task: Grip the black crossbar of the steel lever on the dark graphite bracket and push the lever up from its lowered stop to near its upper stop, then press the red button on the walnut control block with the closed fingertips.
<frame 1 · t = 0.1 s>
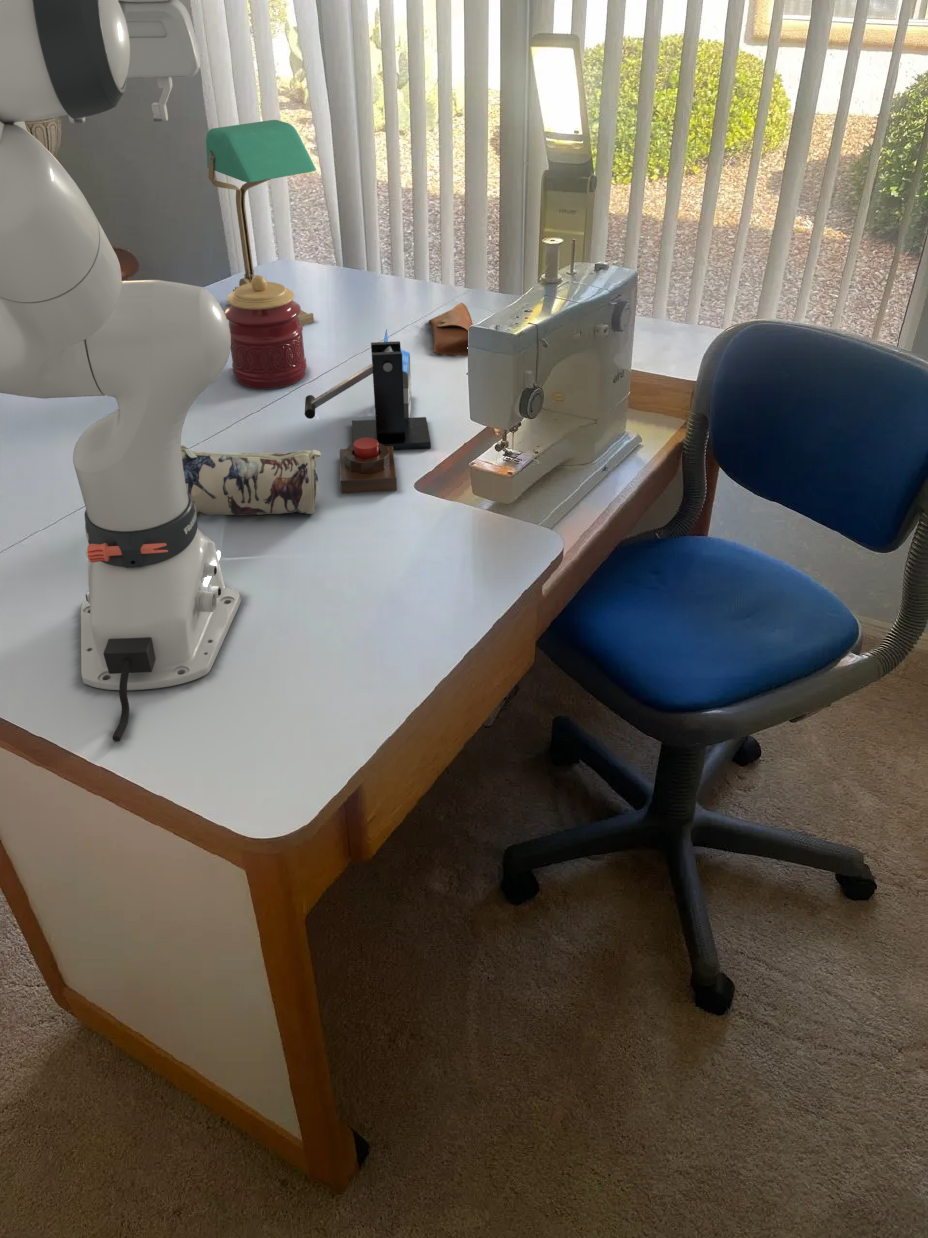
hand: (119, 121, 113), 48 cm above the table, tool pointing down, fingers open, 8 cm apart
kitchen canister: (271, 376, 173), on the table
lever: (349, 382, 147), point 10 cm above the table, hinge at -30.0°
tape cartridge: (399, 411, 162), on the table
pencil case: (249, 511, 136), on the table
bracket: (390, 437, 154), on the table
control block: (368, 476, 144), on the table
banker's lamp: (272, 315, 198), on the table
button: (366, 448, 141), point 5 cm above the table, slide at 0.2 cm
sunglasses case: (451, 338, 188), on the table
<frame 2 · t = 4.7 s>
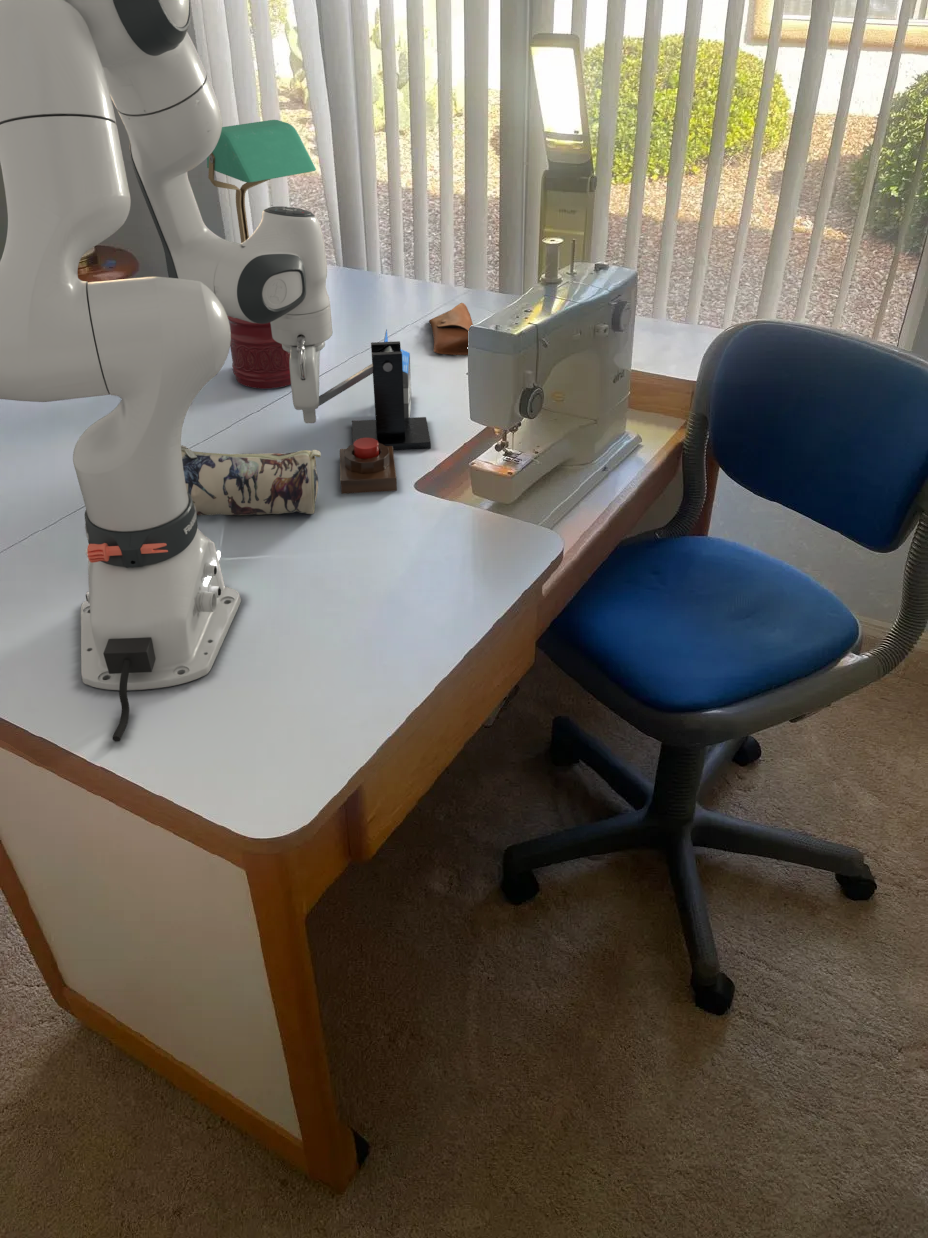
hand: (310, 411, 150), 5 cm above the table, tool pointing down, fingers closed on lever, 5 cm apart
lever: (349, 382, 147), point 10 cm above the table, hinge at -30.0°, touching gripper
everything else where it was.
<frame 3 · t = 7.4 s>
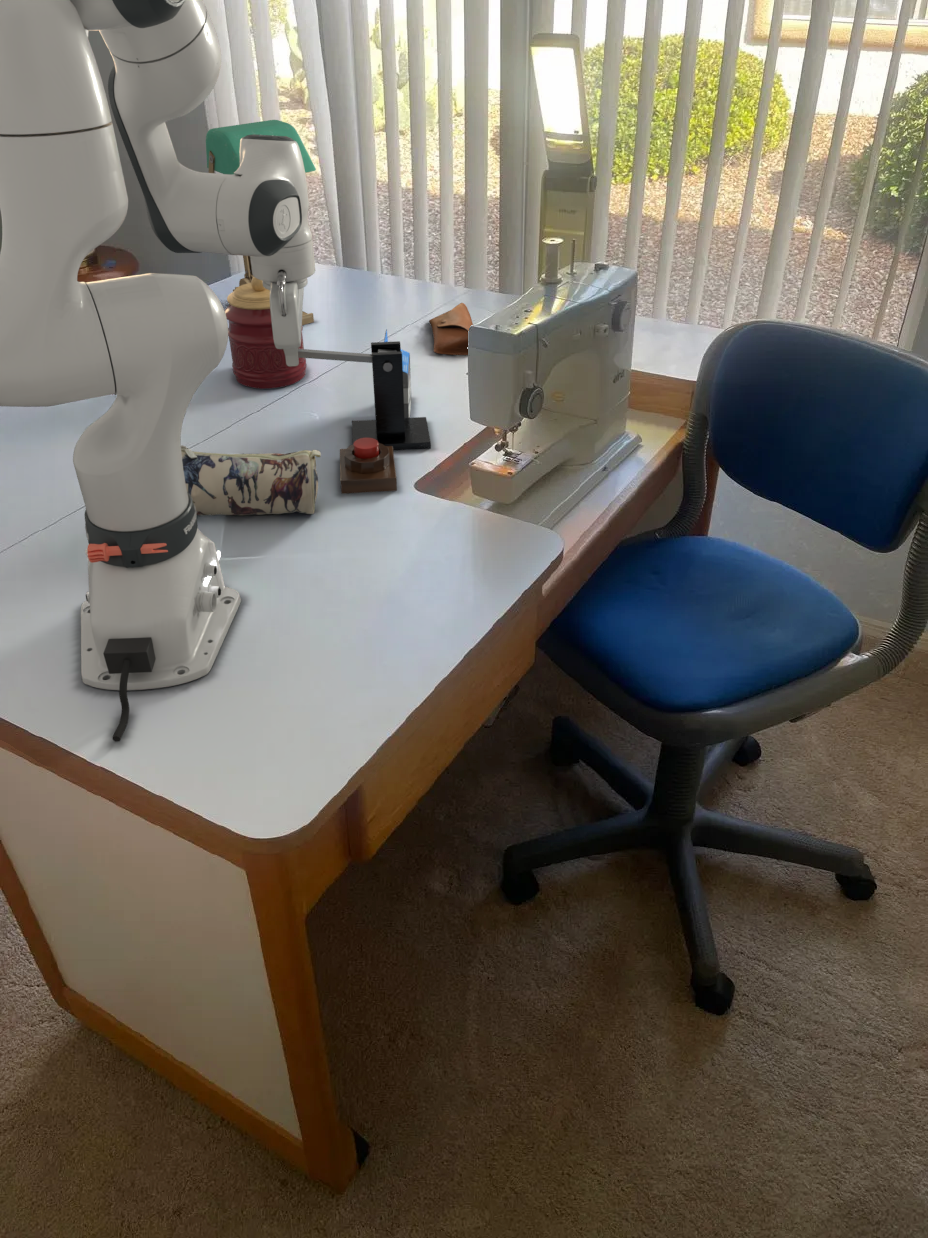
hand: (293, 355, 144), 14 cm above the table, tool pointing down, fingers closed on lever, 5 cm apart
lever: (342, 356, 145), point 14 cm above the table, hinge at 7.1°, touching gripper
everything else where it was.
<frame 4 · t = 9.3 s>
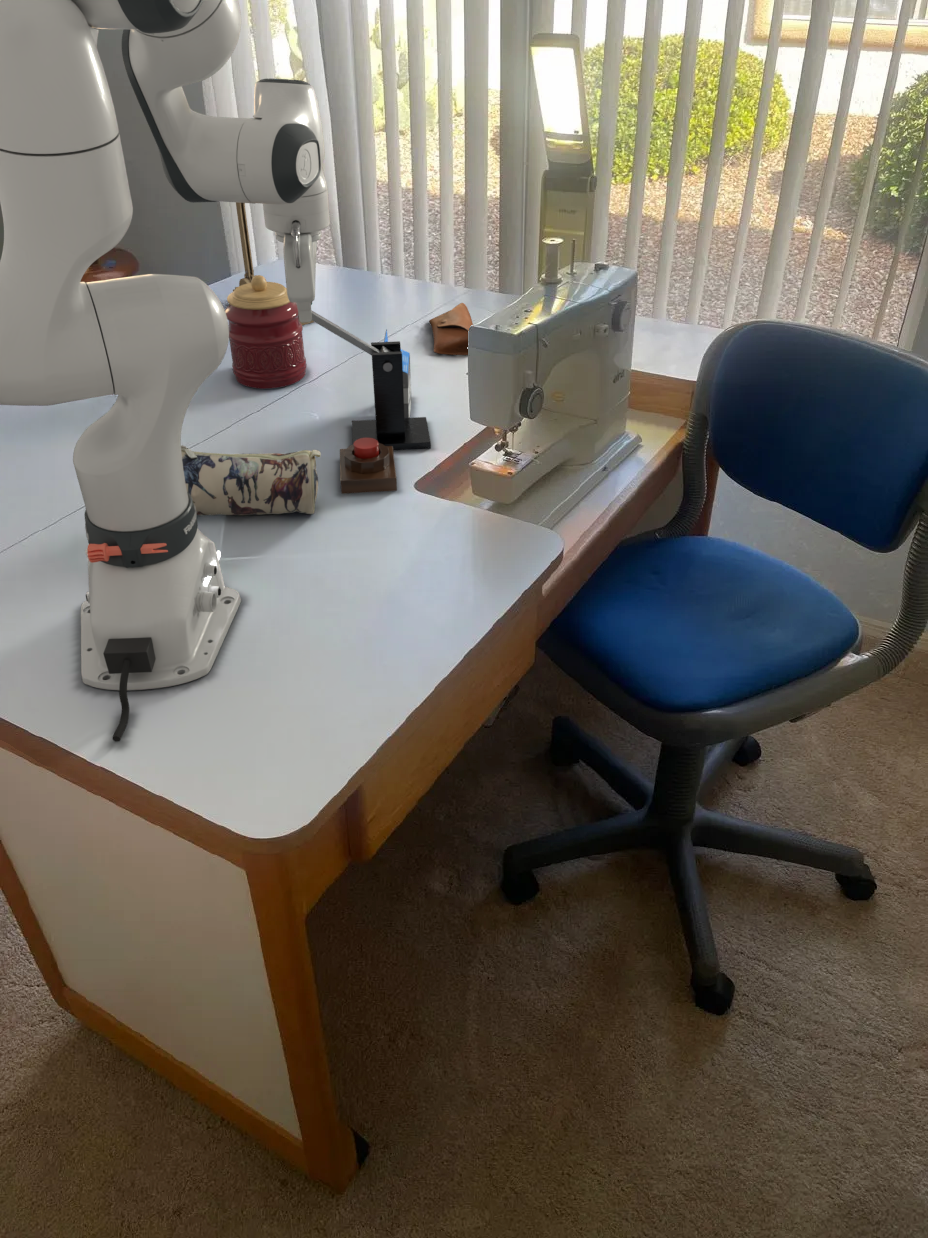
hand: (306, 312, 140), 21 cm above the table, tool pointing down, fingers closed on lever, 5 cm apart
lever: (348, 336, 143), point 17 cm above the table, hinge at 34.3°, touching gripper
everything else where it was.
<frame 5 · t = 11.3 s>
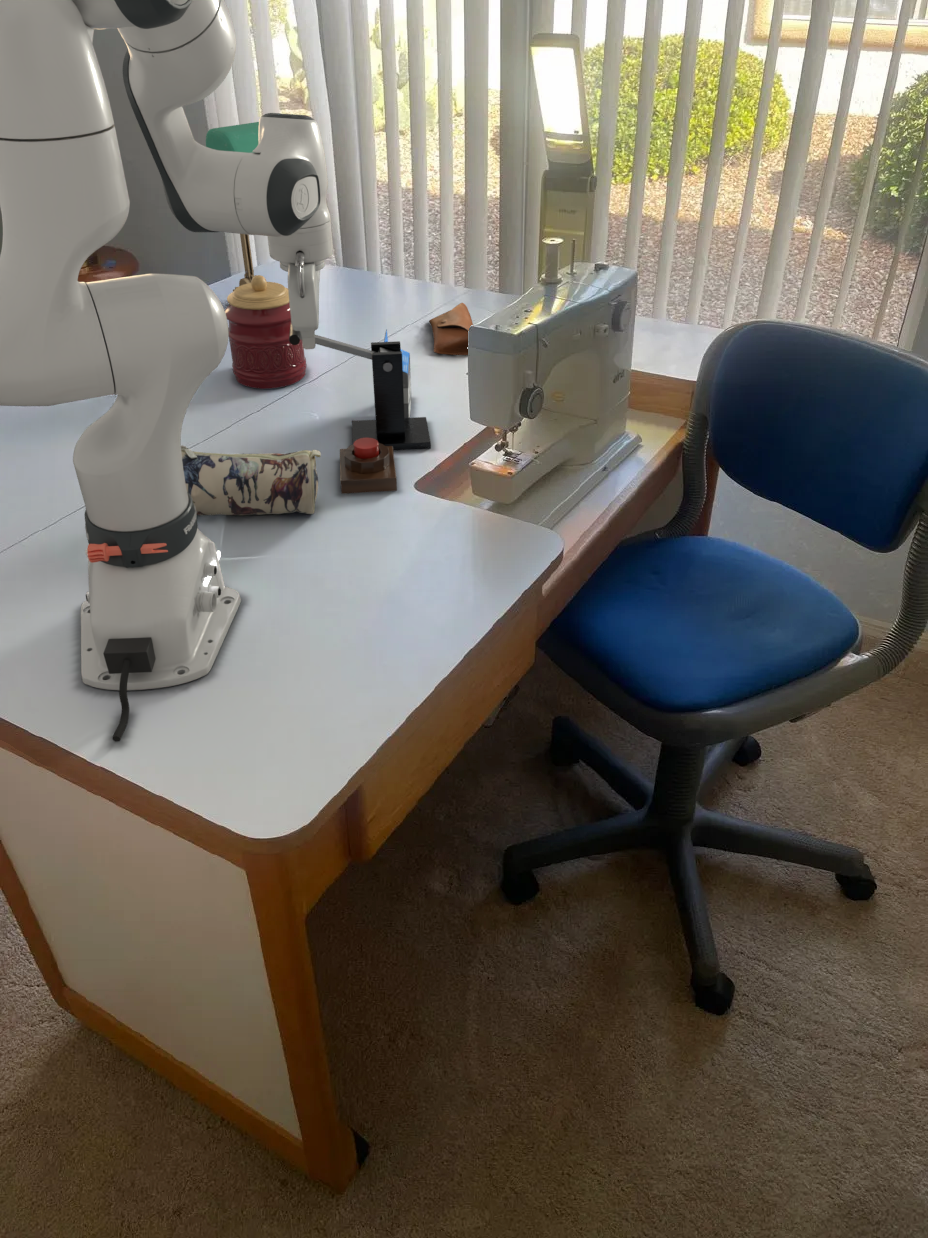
hand: (309, 338, 143), 17 cm above the table, tool pointing down, fingers open, 5 cm apart
lever: (343, 347, 144), point 15 cm above the table, hinge at 19.3°
everything else where it was.
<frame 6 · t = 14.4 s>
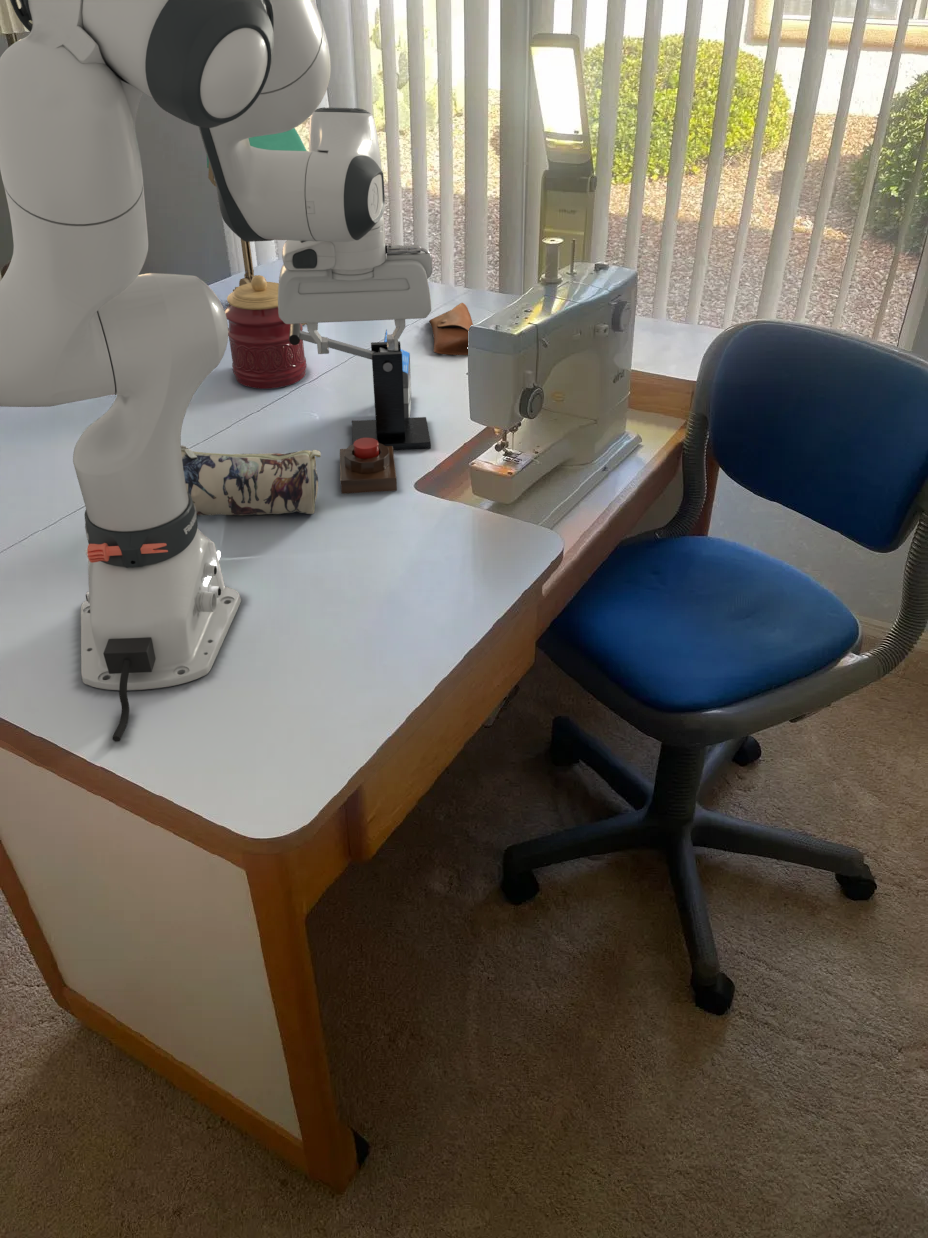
hand: (358, 350, 132), 19 cm above the table, tool pointing down, fingers open, 8 cm apart
nothing on the table moved.
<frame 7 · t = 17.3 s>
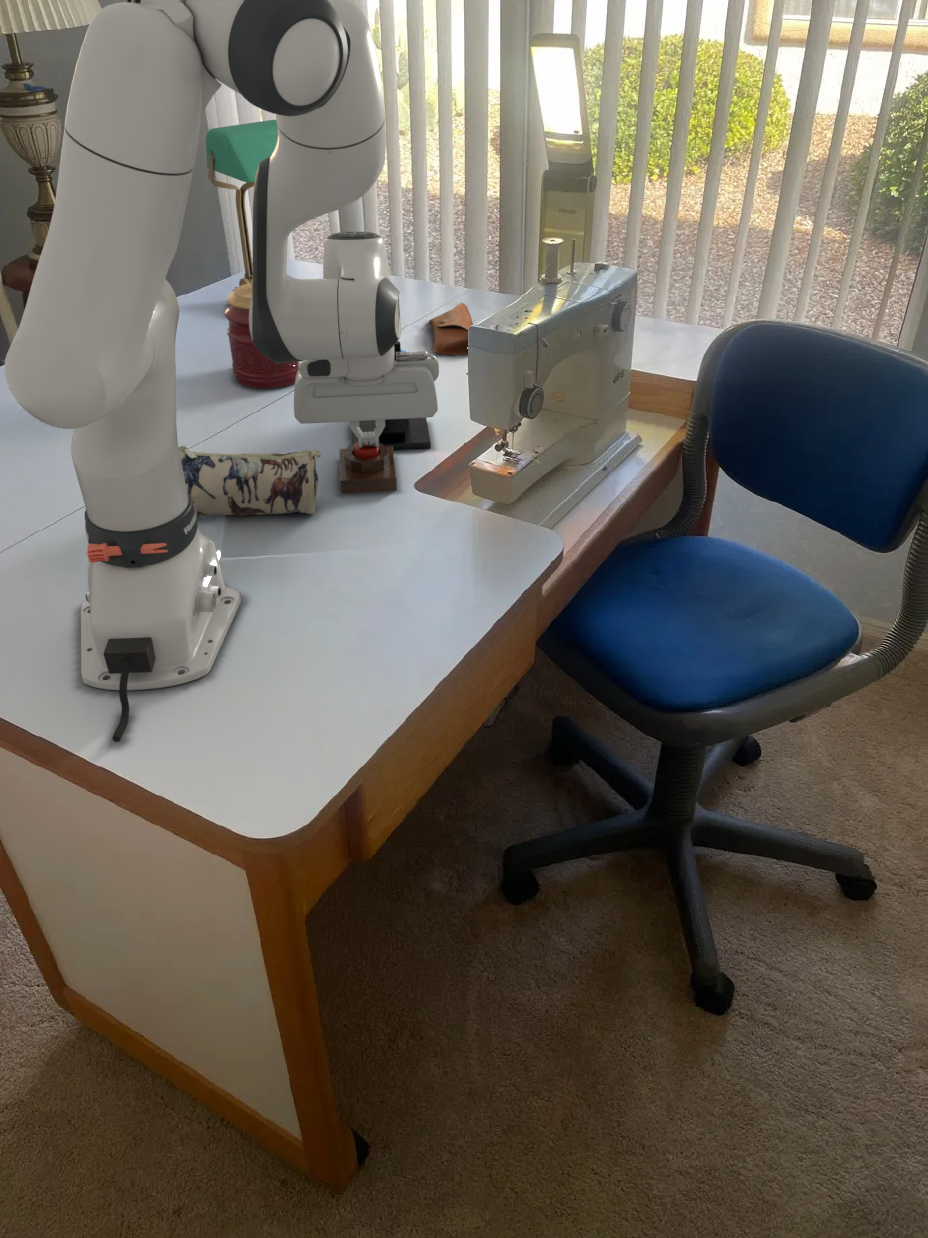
hand: (369, 445, 141), 5 cm above the table, tool pointing down, fingers closed, pressing on button
button: (366, 450, 141), point 4 cm above the table, slide at -0.2 cm, touching gripper
everything else where it was.
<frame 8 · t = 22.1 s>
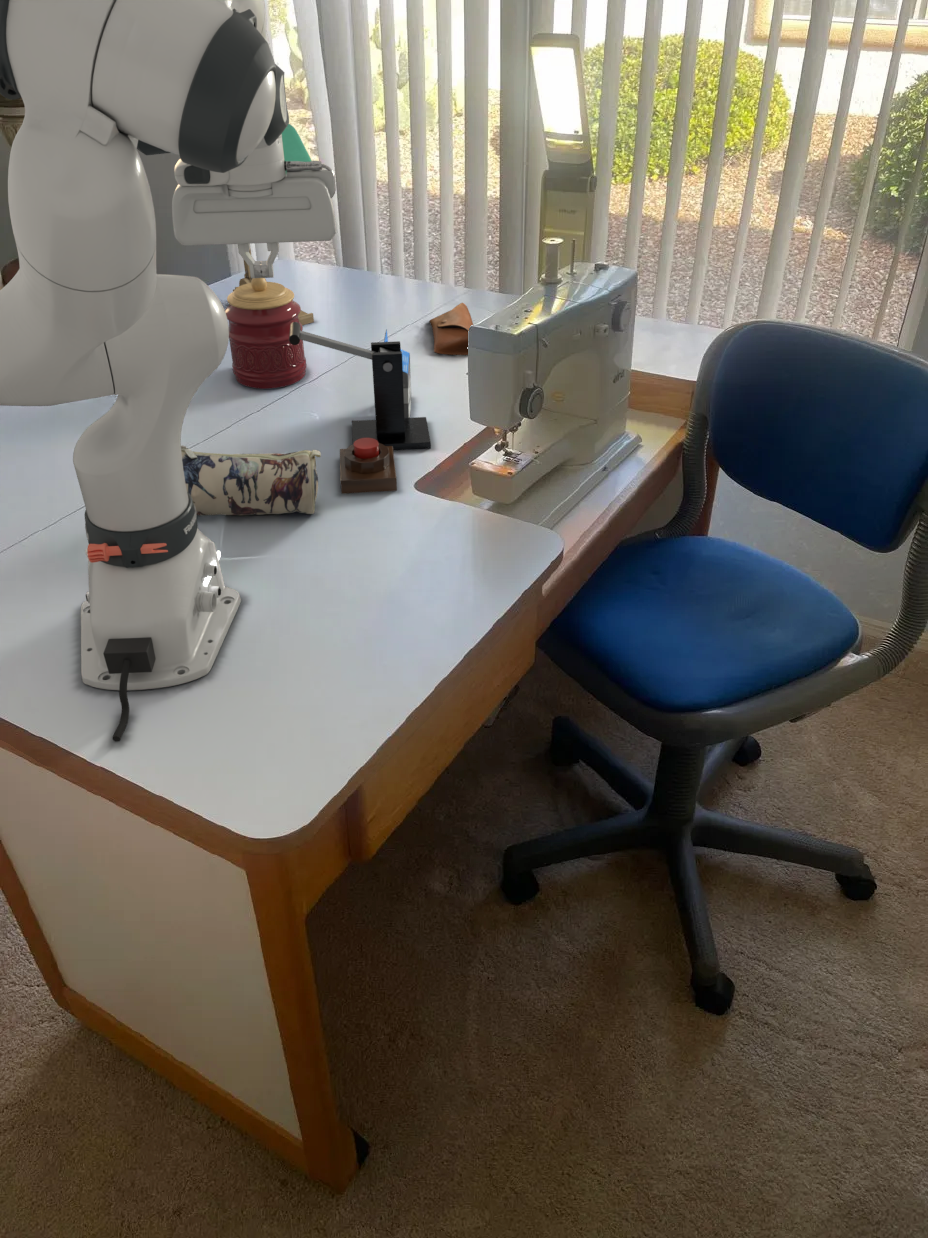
hand: (262, 276, 127), 29 cm above the table, tool pointing down, fingers closed
button: (366, 448, 141), point 5 cm above the table, slide at 0.1 cm
everything else where it was.
at the end: lever at +19° (first picture: -30°); button pushed in 1.1 cm at the most during the clip, back to where it started at the end; button slide at 0.1 cm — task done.
